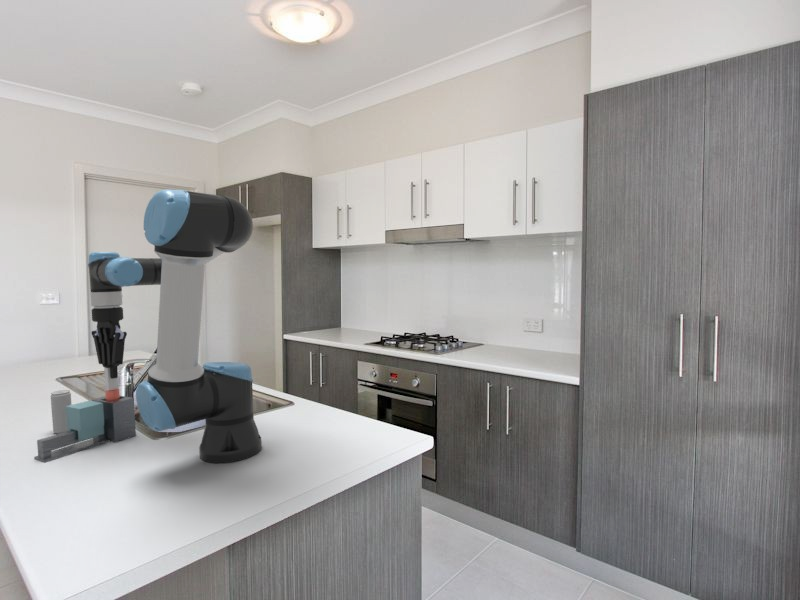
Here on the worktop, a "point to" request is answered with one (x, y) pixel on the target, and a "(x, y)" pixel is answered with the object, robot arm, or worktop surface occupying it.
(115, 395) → the red block
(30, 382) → the worktop surface
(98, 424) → the carriage
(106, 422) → the rail station
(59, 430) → the beverage can
